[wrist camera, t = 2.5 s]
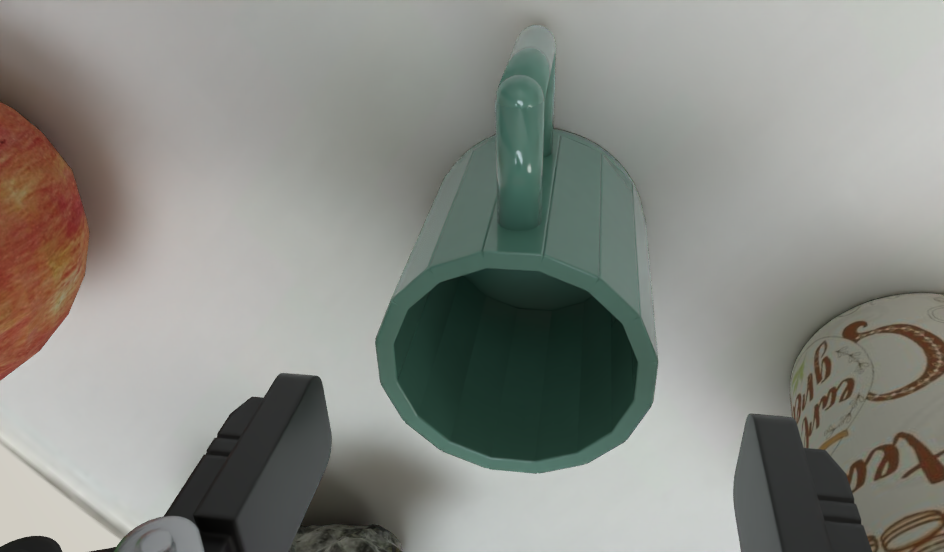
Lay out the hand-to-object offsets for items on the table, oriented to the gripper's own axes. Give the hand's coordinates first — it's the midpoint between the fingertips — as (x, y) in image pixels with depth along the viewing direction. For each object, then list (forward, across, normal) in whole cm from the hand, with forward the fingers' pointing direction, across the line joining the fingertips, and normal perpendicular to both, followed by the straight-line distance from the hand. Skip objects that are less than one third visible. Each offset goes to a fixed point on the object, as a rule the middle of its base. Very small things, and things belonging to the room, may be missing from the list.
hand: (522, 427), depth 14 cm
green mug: (+8, 0, -2) cm, 8 cm away
